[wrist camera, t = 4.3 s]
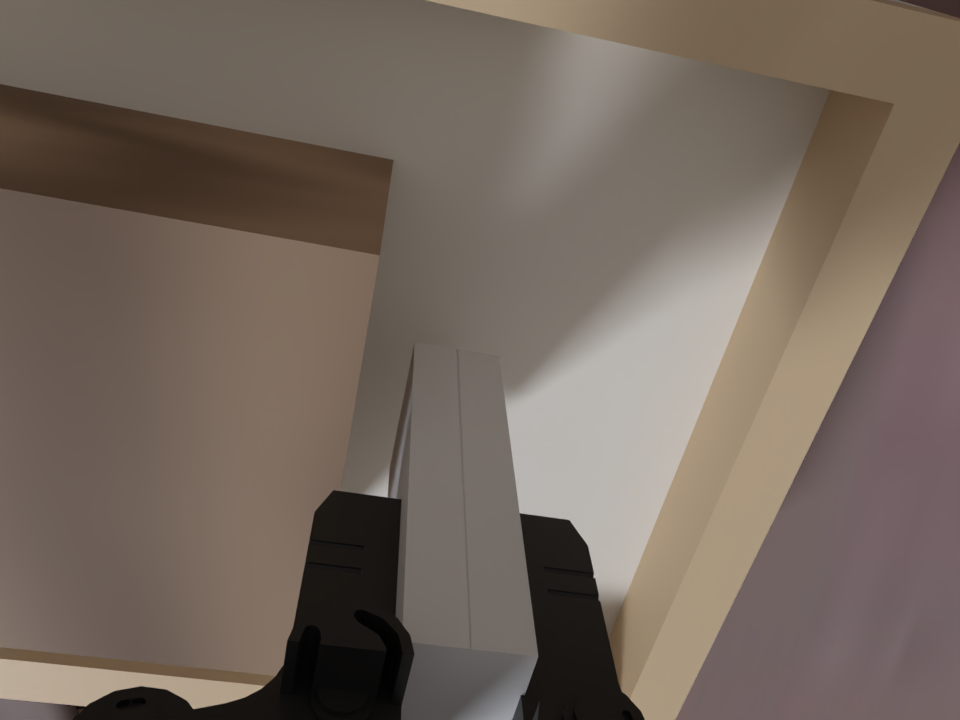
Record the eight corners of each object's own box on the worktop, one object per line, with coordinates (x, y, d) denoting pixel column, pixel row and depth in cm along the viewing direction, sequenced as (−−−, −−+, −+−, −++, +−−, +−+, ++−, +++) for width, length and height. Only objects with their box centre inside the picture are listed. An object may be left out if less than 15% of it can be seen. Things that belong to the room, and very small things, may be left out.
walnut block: (-70, 470, 17) (-199, 625, 14) (-125, 60, 13) (-324, 130, 10) (333, 523, 18) (309, 679, 15) (393, 160, 14) (379, 255, 11)
